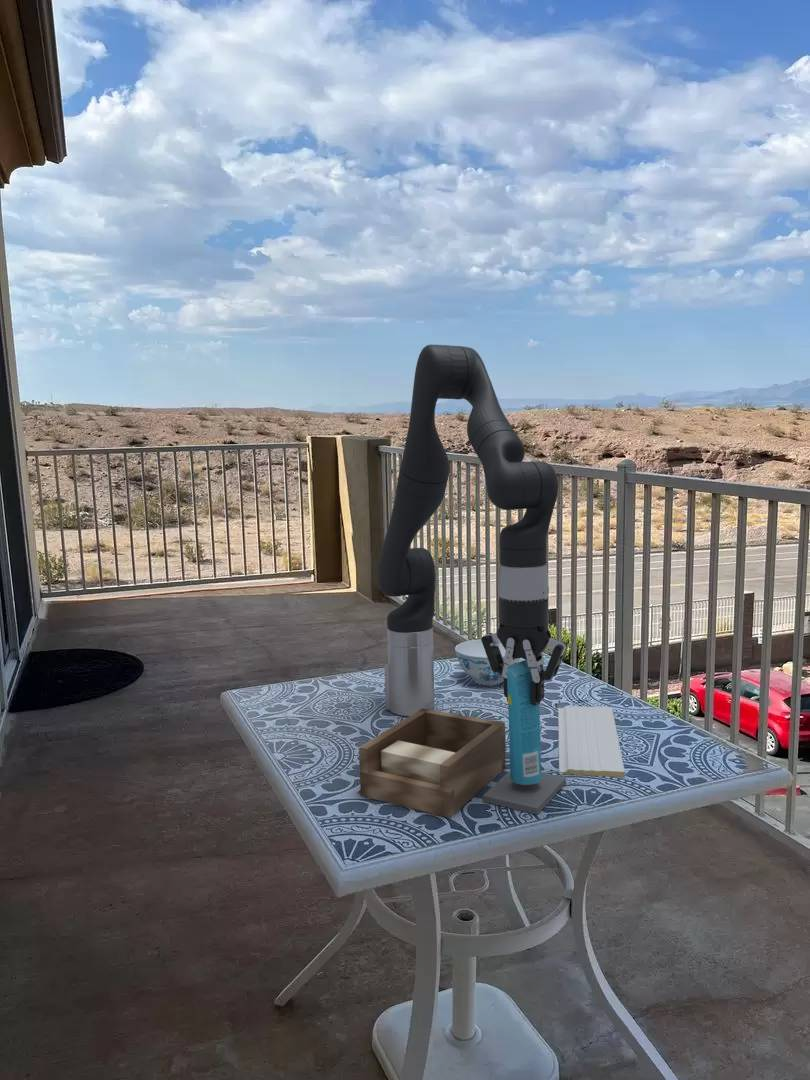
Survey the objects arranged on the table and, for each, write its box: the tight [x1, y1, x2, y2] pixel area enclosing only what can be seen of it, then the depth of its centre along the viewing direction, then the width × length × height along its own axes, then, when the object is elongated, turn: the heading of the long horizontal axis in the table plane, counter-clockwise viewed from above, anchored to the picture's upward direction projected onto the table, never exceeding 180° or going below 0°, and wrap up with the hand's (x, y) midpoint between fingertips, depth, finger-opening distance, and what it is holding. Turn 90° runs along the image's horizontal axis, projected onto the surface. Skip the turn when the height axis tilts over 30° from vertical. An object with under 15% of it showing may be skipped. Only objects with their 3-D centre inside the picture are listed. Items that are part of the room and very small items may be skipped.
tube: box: [507, 659, 542, 785], centre depth 128 cm, size 7×5×19 cm, turn 140°
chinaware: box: [454, 639, 521, 686], centre depth 186 cm, size 15×15×8 cm
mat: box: [482, 770, 567, 816], centre depth 130 cm, size 9×12×1 cm
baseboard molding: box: [554, 699, 626, 778], centre depth 151 cm, size 31×3×12 cm
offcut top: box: [381, 741, 455, 780], centre depth 130 cm, size 11×5×2 cm, turn 57°
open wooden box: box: [358, 708, 507, 819], centre depth 134 cm, size 16×20×8 cm
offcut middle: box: [381, 765, 440, 785], centre depth 130 cm, size 11×5×2 cm, turn 57°
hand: (524, 701), depth 128 cm, fingers closed on tube, 3 cm apart
